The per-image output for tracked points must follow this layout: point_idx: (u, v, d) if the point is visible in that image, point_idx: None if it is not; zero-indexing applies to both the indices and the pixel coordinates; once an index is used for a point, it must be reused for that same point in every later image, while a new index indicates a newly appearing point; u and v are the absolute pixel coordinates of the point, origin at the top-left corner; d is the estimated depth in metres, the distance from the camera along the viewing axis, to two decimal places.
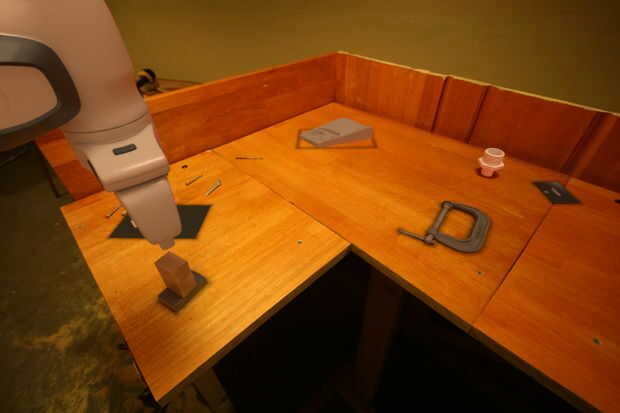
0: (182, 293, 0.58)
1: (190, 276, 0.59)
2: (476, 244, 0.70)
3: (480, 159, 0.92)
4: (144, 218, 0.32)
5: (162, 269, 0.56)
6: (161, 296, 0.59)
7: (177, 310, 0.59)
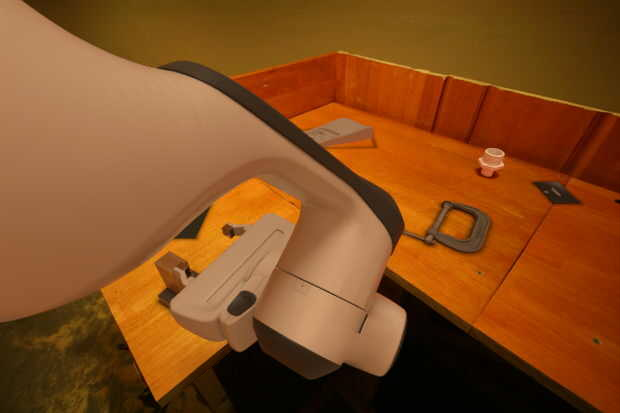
0: None
1: (190, 276, 0.59)
2: (476, 244, 0.70)
3: (480, 159, 0.92)
4: (191, 322, 0.34)
5: (162, 269, 0.56)
6: (161, 296, 0.59)
7: None
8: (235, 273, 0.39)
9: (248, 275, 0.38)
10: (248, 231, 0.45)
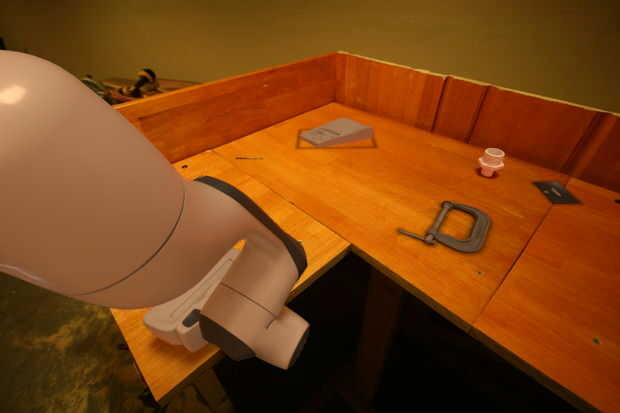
0: None
1: None
2: (476, 244, 0.70)
3: (480, 159, 0.92)
4: (157, 331, 0.48)
5: None
6: None
7: None
8: (193, 294, 0.53)
9: (201, 296, 0.52)
10: None
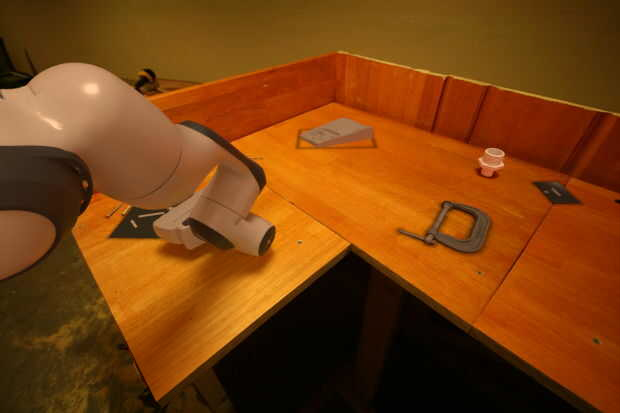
0: None
1: None
2: (476, 244, 0.70)
3: (480, 159, 0.92)
4: (163, 231, 0.65)
5: None
6: None
7: None
8: (190, 210, 0.70)
9: None
10: (201, 190, 0.76)
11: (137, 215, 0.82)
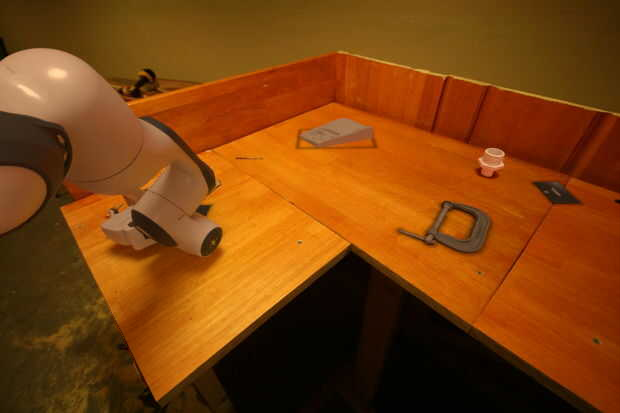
0: None
1: None
2: (476, 244, 0.70)
3: (480, 159, 0.92)
4: (110, 232, 0.66)
5: (128, 198, 0.72)
6: None
7: None
8: None
9: None
10: None
11: None
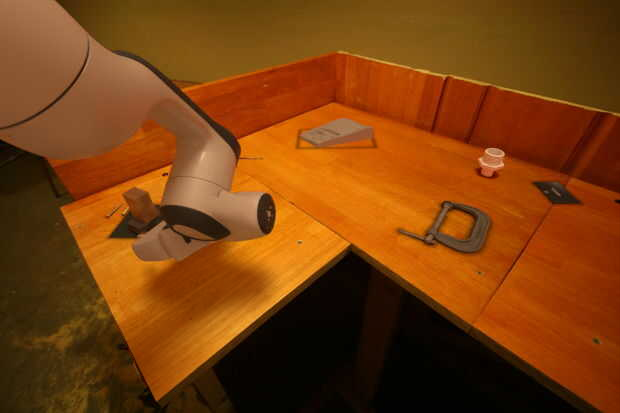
0: (145, 219, 0.75)
1: (151, 206, 0.75)
2: (476, 244, 0.70)
3: (480, 159, 0.92)
4: (144, 247, 0.53)
5: (128, 197, 0.72)
6: (129, 223, 0.75)
7: None
8: None
9: None
10: None
11: None
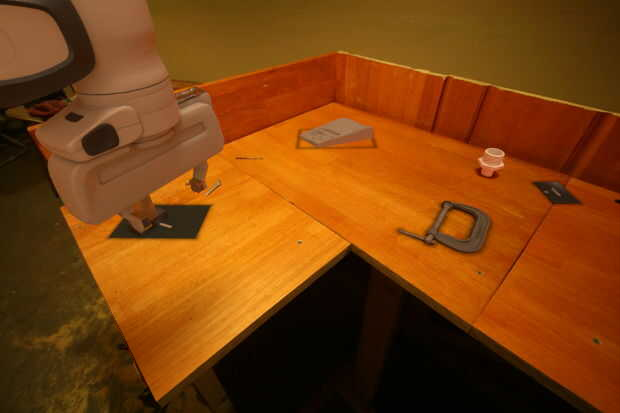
0: None
1: (151, 206, 0.75)
2: (476, 244, 0.70)
3: (480, 159, 0.92)
4: (57, 188, 0.30)
5: None
6: (129, 223, 0.75)
7: (142, 232, 0.75)
8: None
9: None
10: None
11: None
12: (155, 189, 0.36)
